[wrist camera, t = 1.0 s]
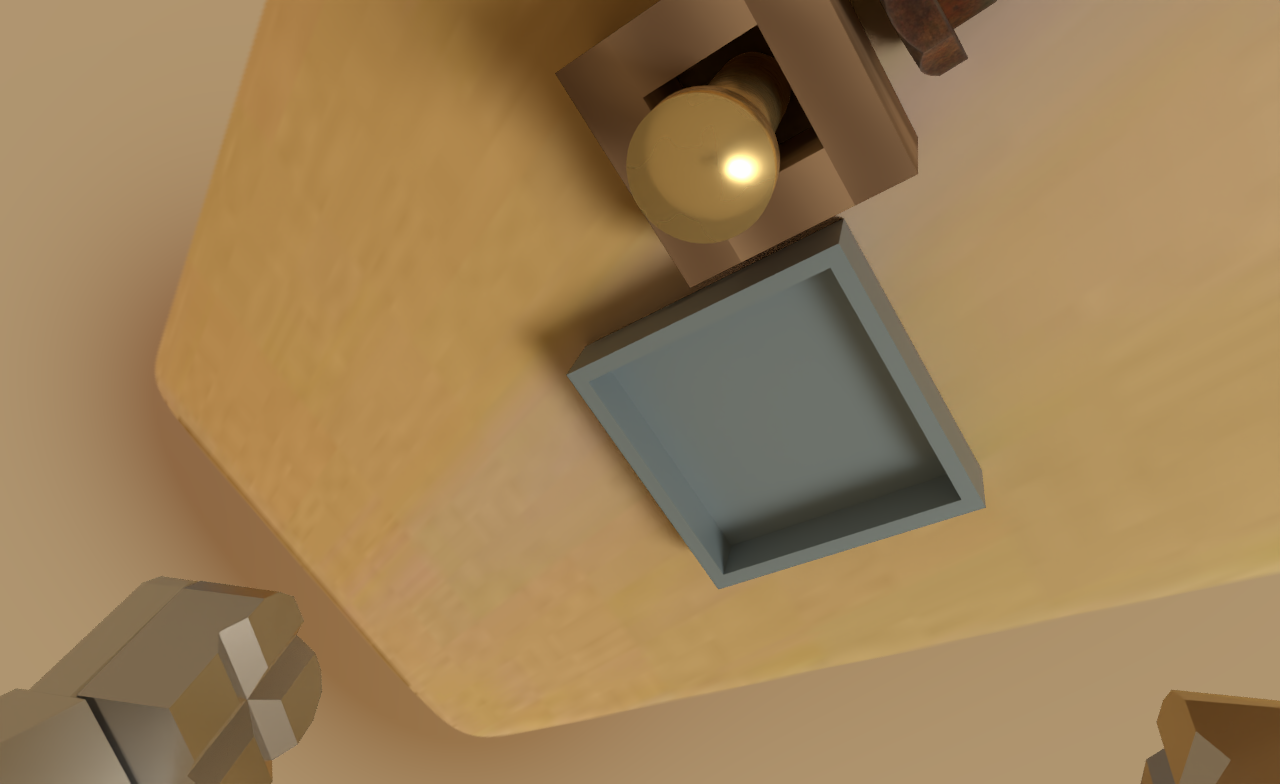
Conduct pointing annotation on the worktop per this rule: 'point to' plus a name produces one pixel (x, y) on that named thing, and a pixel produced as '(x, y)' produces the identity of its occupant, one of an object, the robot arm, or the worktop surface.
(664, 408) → the tray
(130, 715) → the robot arm
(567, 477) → the worktop surface
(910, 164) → the holder
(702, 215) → the pin
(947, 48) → the bolt
